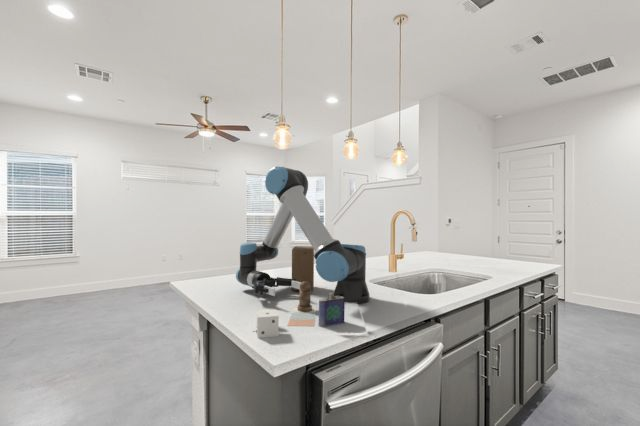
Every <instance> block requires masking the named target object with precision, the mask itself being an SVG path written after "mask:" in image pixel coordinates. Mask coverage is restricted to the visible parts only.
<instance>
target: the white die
mask: <svg viewBox="0 0 640 426" xmlns="http://www.w3.org/2000/svg"><path fill="white" fill-rule="evenodd" d="M256 336H257V337H256V338H257V339H261V338H263V339H264V338H271V337H279V313H278V311H277V309H266V310H264V309H263V310H256Z"/></svg>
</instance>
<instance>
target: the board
mask: <svg viewBox="0 0 640 426" xmlns="http://www.w3.org/2000/svg"><path fill="white" fill-rule="evenodd" d="M316 313H317V307H314V306H312V310H311V311H309V312H301V311H298V306H294V307H293V309H292V312H291V315H290V317H289V320H288V323H287V327H315V323H316V320H315V319H316Z"/></svg>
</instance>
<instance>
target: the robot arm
mask: <svg viewBox="0 0 640 426" xmlns="http://www.w3.org/2000/svg"><path fill="white" fill-rule="evenodd" d="M264 184H265V185H264V186H265V188H266V190H267V192H268V193H270V194H272V195H275V196H276V197H277V199H278V201H279V203H281V204H280V207H279V208H278V210H277V213H276V215H275V216H274V219H273V221H272V223H271V225H270V228H269V229H268V232H267V233H266V235H265V238H264V240H263V241H262V244H261V245H257V243H255V242H242V243H241V244H240V247H239V269H238V270H237V271H236V274H235V279H236V280H237V282H238V283H240V284H242V285H244V286H248V287H251V288H252V289H253V290H254V293H255V294H258V293H259V295H261V296H262V295H264V294H266V295H269V296H273V297H275V296H276V288H277V287H291V288H292V287H293V288H296V289H300V284H301V282H297V279H294V278H293V279H292V278H289V277H287V278H286V277H279V276H278V277H276V278H274V277H271V276H270V275H269V274H268V273H267V272H263V271H260V270H257V263H258V262H264V261H271V260H273V259H275V258H277V257H278V255H279V248H278V247H279V245H280V243H281V241H282V239H283V236H284V235H285V234H286V231H287V230H288V229H287V228H288V227H289V225H290V223H291V222H292V219H295V221H296V223H297V224H298V226H299V227H300V229H301V230H302V233H303V234H304V236H305V238H307V239H306V240H307V241H308V242H309V244H310V246H312V247H313V248H314V260H315V270H316V272H317V274H318V275H319V277H320V278H321V279H322V280H324V281H326V282H330V283H336V286H335V288H334V290H333V291H334V292H333V296H342V297H344V298H345V303H356V304H357V305H358V304H366V303H368V302H369V301H370V300H369V299H370V298H371V297H370V292H369V288H368V285H367V282H366V273H367V272H366V268H367V267H366V265H367V263H366V262H367V261H366V260H367V258H366V256H367V253H366V246H364V245H361V244H360V245H358V244H349V243H348V244H346V243H345V244H343V243H341V241H340V240H338V239H335V238H333V237H332V235H331V234H330V231H329V230H328V229H327V227H326V226H325V224H324V222H323V221H322V220H321V218H320V217H319V215H318V214H317V212H316V210H315V209H314V208H313V206H312V204H311V203H310V201H309V200H308V199H307V197H306V196H307V194H308V191H309V180H308V178H307V176H306V175H305V173H304V172H302V171H300V170H297V169H293V168H288V167H285V166H274V167H272V168H271V169H269V171H268V172H267V173H266V176H265V180H264ZM275 287H276V288H275Z"/></svg>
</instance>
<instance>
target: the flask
mask: <svg viewBox="0 0 640 426" xmlns="http://www.w3.org/2000/svg"><path fill="white" fill-rule="evenodd" d="M345 307H346V302H345V298H344V297H342V296H334V292H329V293H328V297H327V298H321V299H319V300H318V327H320V328H325V327H329V326H332V325H340V324H344V323H345V309H346V308H345Z"/></svg>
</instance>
